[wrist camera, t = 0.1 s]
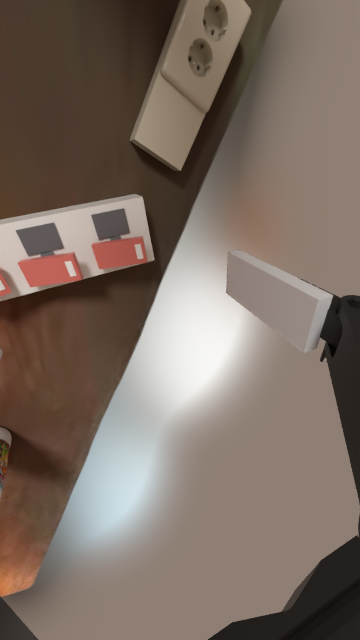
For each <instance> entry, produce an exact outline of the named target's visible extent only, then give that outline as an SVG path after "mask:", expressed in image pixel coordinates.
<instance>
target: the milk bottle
mask: <svg viewBox="0 0 360 640" xmlns="http://www.w3.org/2000/svg"><path fill="white" fill-rule="evenodd" d="M11 439H12V437H11V434H10V432H9V431H8V430H7V429H5V428H3V427H0V498H1V494H2V490H3V485H4V480H5V474H6V469H7V463H8V458H9V452H10V446H11Z"/></svg>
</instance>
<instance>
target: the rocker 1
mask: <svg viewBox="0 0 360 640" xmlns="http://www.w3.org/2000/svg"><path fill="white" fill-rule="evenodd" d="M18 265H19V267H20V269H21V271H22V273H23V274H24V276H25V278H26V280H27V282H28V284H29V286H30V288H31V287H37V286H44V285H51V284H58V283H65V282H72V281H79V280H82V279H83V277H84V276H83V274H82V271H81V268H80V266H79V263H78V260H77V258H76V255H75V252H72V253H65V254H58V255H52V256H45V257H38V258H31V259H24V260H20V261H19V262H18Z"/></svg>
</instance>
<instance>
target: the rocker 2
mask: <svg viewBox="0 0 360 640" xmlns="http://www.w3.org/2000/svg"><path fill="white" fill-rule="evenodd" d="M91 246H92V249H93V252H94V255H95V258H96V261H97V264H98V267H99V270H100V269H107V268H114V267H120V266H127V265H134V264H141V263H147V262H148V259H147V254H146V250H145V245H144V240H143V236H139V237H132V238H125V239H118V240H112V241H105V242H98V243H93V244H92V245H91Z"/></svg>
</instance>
